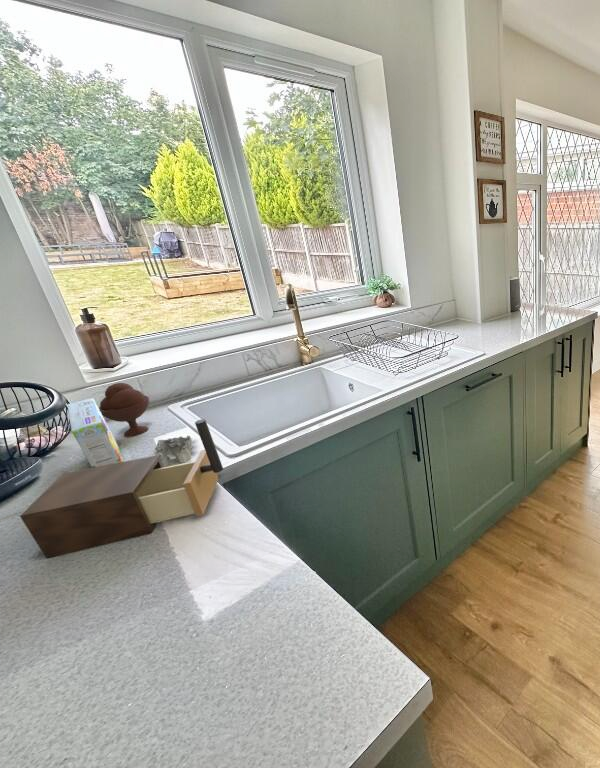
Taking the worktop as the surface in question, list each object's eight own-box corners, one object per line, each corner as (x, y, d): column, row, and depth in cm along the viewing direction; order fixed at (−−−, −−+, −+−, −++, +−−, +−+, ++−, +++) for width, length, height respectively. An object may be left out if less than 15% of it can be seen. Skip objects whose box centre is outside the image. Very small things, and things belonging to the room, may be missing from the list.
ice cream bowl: (101, 440, 117) (77, 392, 111) (139, 421, 127) (120, 376, 121) (132, 443, 115) (110, 394, 109) (169, 423, 125) (150, 378, 119)
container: (236, 474, 97) (213, 407, 90) (224, 509, 86) (196, 435, 79) (132, 496, 91) (98, 425, 84) (103, 538, 79) (61, 460, 72)
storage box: (174, 492, 94) (158, 454, 90) (151, 533, 82) (132, 492, 78) (85, 512, 88) (63, 473, 84) (46, 558, 76) (19, 516, 72)
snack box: (91, 454, 110) (65, 403, 104) (118, 446, 114) (95, 396, 108) (98, 487, 96) (69, 430, 90) (130, 476, 100) (104, 421, 94)
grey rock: (191, 462, 105) (185, 448, 104) (154, 471, 102) (148, 457, 100) (196, 443, 114) (191, 430, 112) (162, 451, 110) (156, 437, 109)
